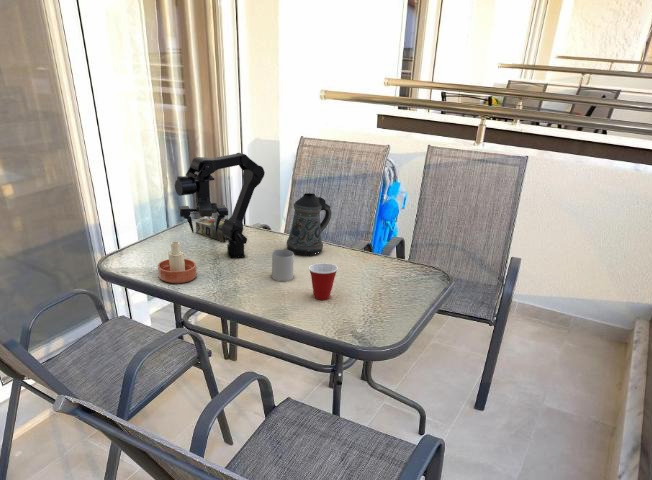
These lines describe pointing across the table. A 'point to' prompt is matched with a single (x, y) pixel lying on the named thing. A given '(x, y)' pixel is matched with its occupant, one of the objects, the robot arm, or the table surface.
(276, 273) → the cup
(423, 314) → the table surface
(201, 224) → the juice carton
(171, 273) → the bowl
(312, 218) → the beer stein
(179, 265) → the bottle
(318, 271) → the plastic cup
